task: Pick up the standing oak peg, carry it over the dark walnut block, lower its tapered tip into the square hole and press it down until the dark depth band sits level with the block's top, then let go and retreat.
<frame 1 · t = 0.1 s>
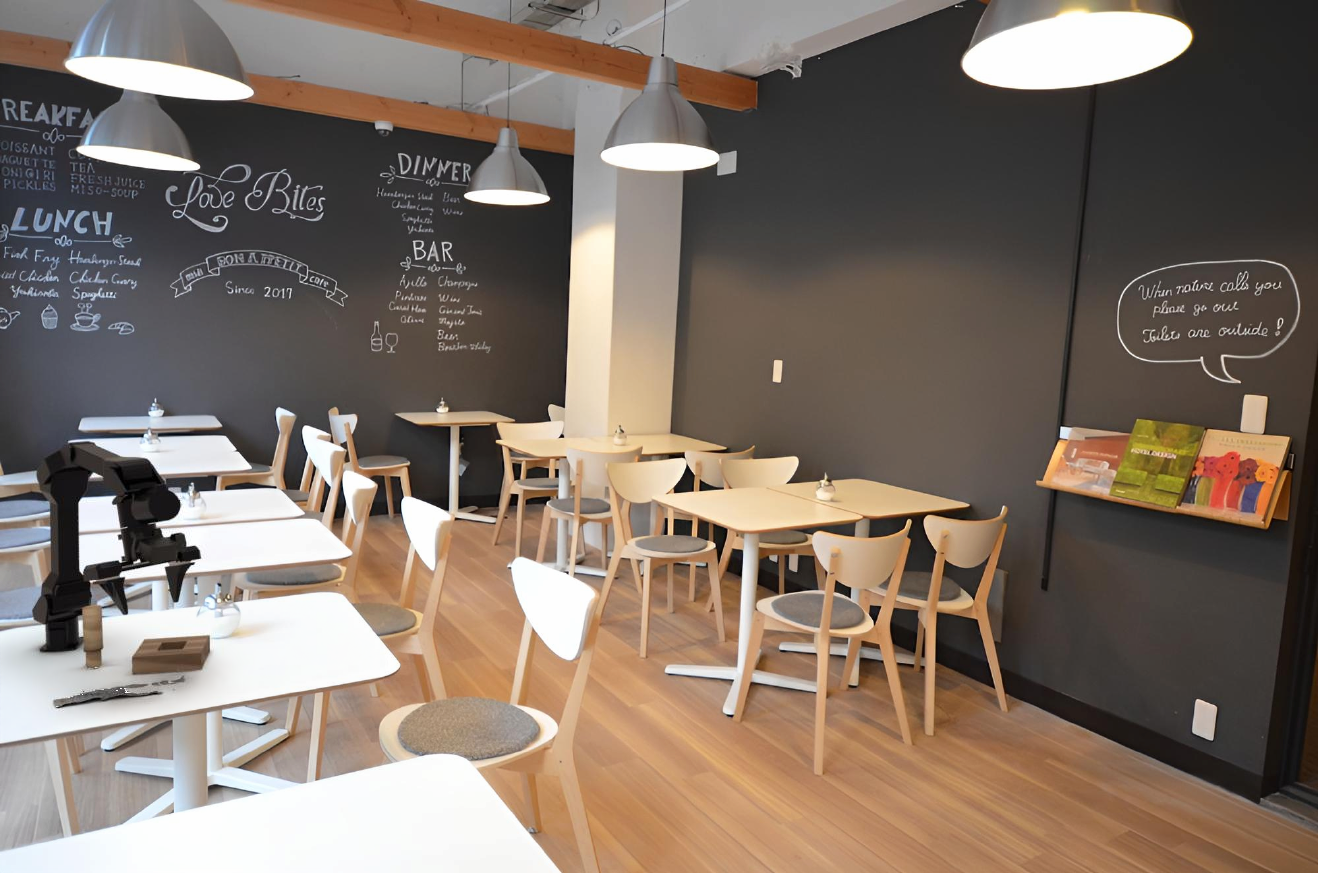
hand: (151, 608, 159), 15 cm above the table, tool pointing down, fingers open, 9 cm apart
peg: (94, 666, 170), on the table
board: (172, 662, 173), on the table
driftwood: (120, 698, 158), on the table
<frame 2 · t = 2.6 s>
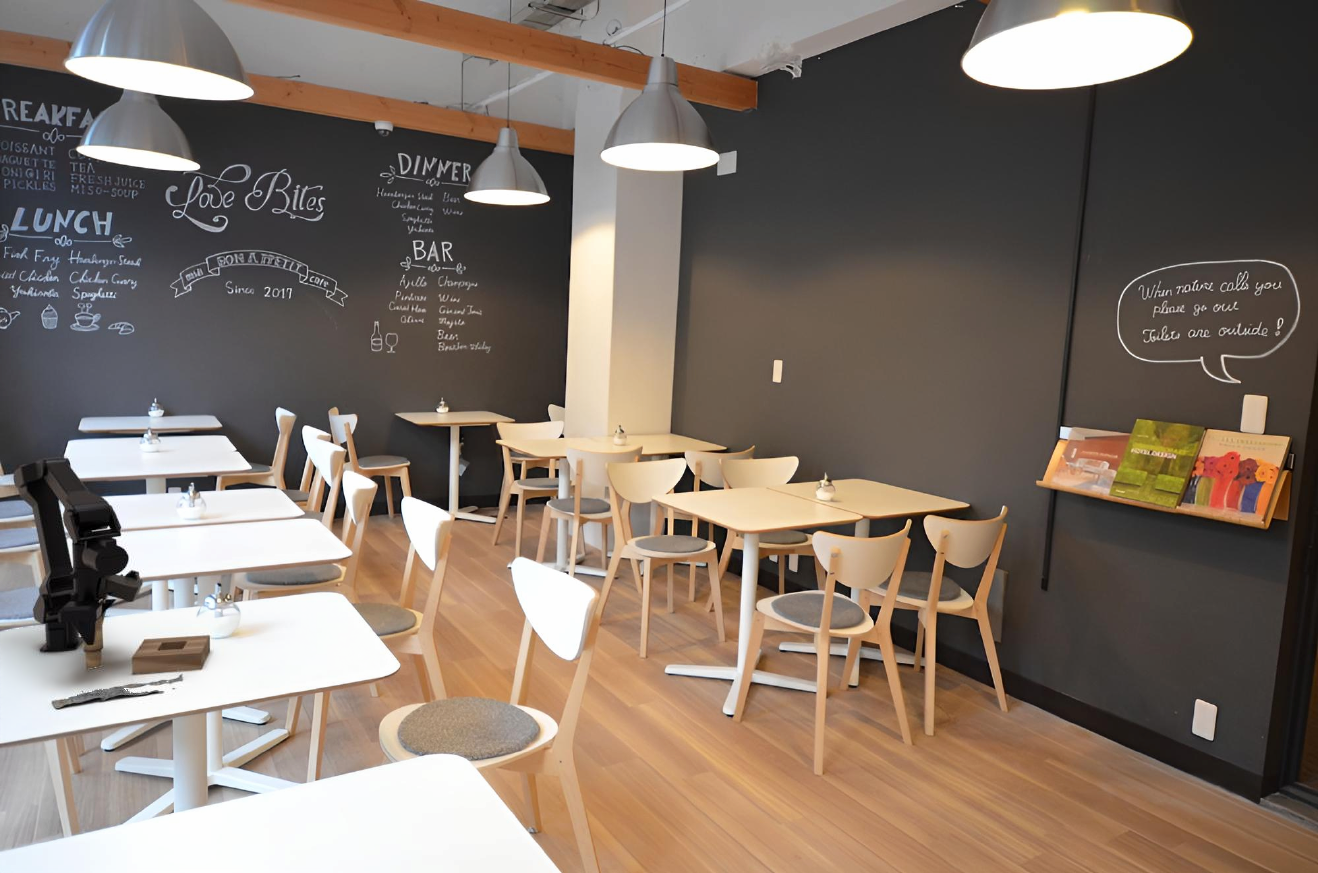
hand: (93, 641, 169), 5 cm above the table, tool pointing down, fingers closed on peg, 3 cm apart
peg: (94, 666, 170), on the table, touching gripper
everything else where it was.
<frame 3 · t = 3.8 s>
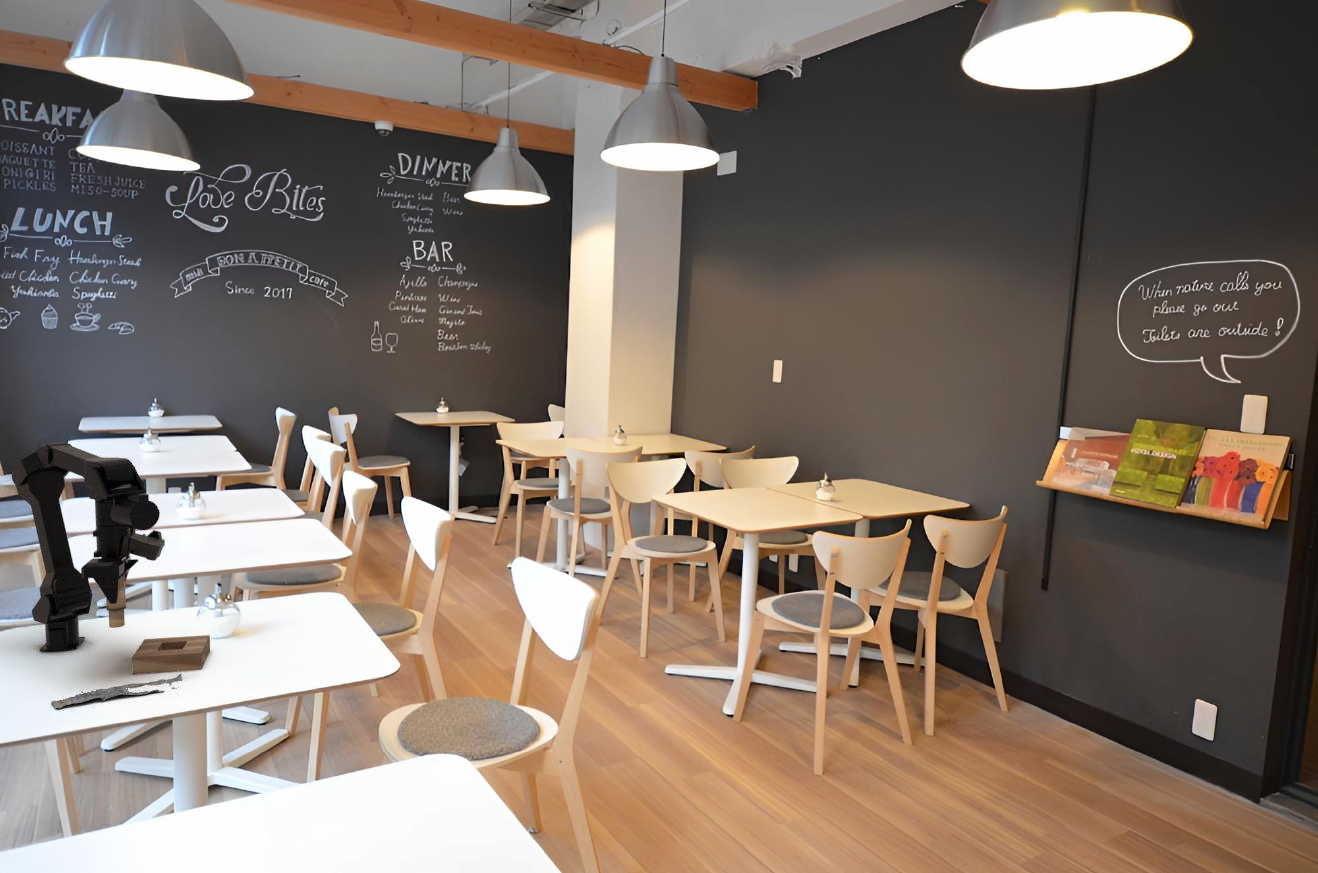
hand: (116, 601, 169), 13 cm above the table, tool pointing down, fingers closed on peg, 3 cm apart
peg: (117, 625, 169), point 8 cm above the table, touching gripper
everything else where it was.
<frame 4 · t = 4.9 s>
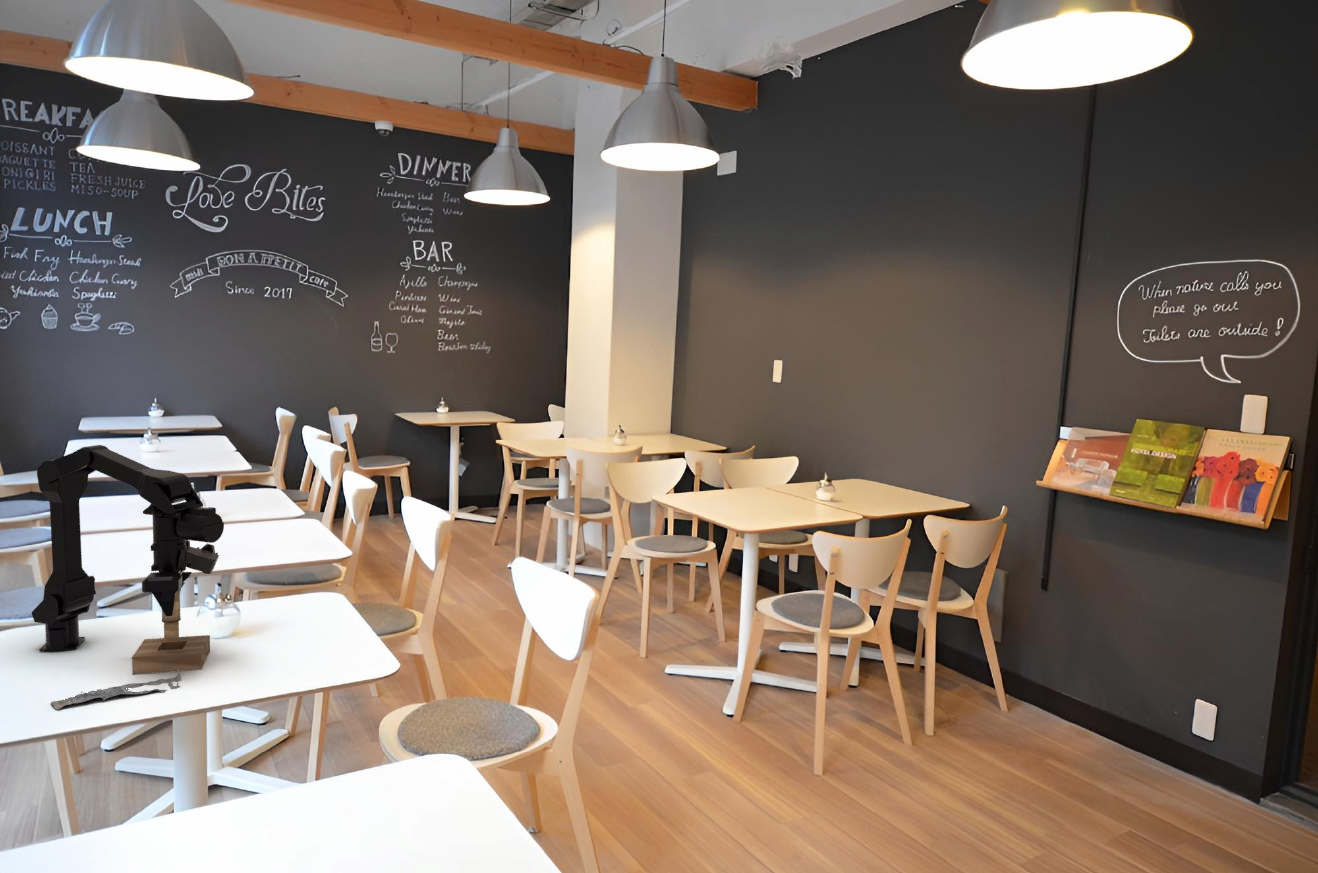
hand: (171, 613, 172), 10 cm above the table, tool pointing down, fingers closed on peg, 3 cm apart
peg: (171, 637, 173), point 5 cm above the table, touching gripper
everything else where it was.
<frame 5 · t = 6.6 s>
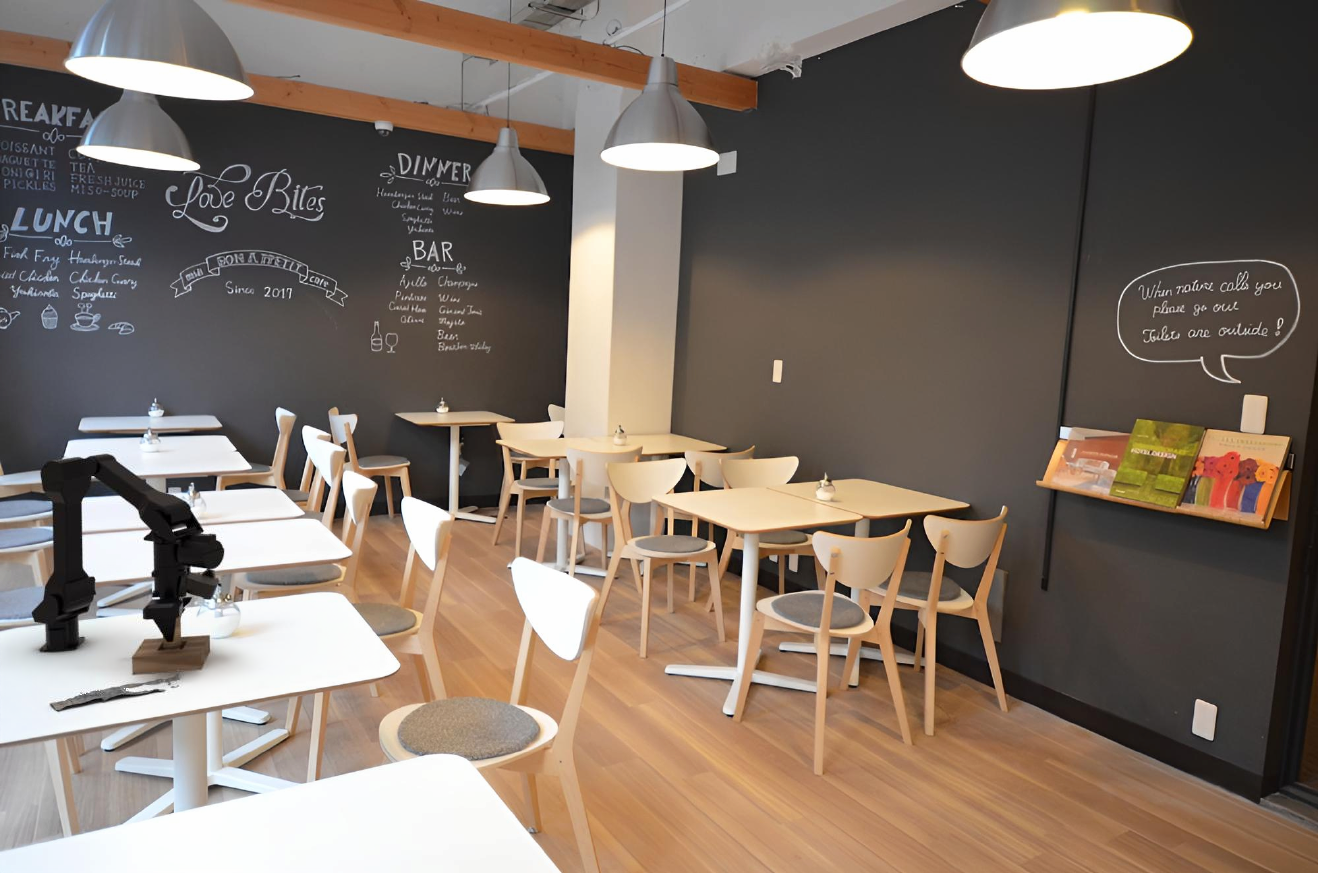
hand: (172, 638, 173), 5 cm above the table, tool pointing down, fingers closed on peg, 3 cm apart
peg: (172, 662, 173), resting in board, touching gripper
everything else where it was.
when the fingers open (5 cm above the table, at t = 7.4 s): peg stays where it is, resting in board.
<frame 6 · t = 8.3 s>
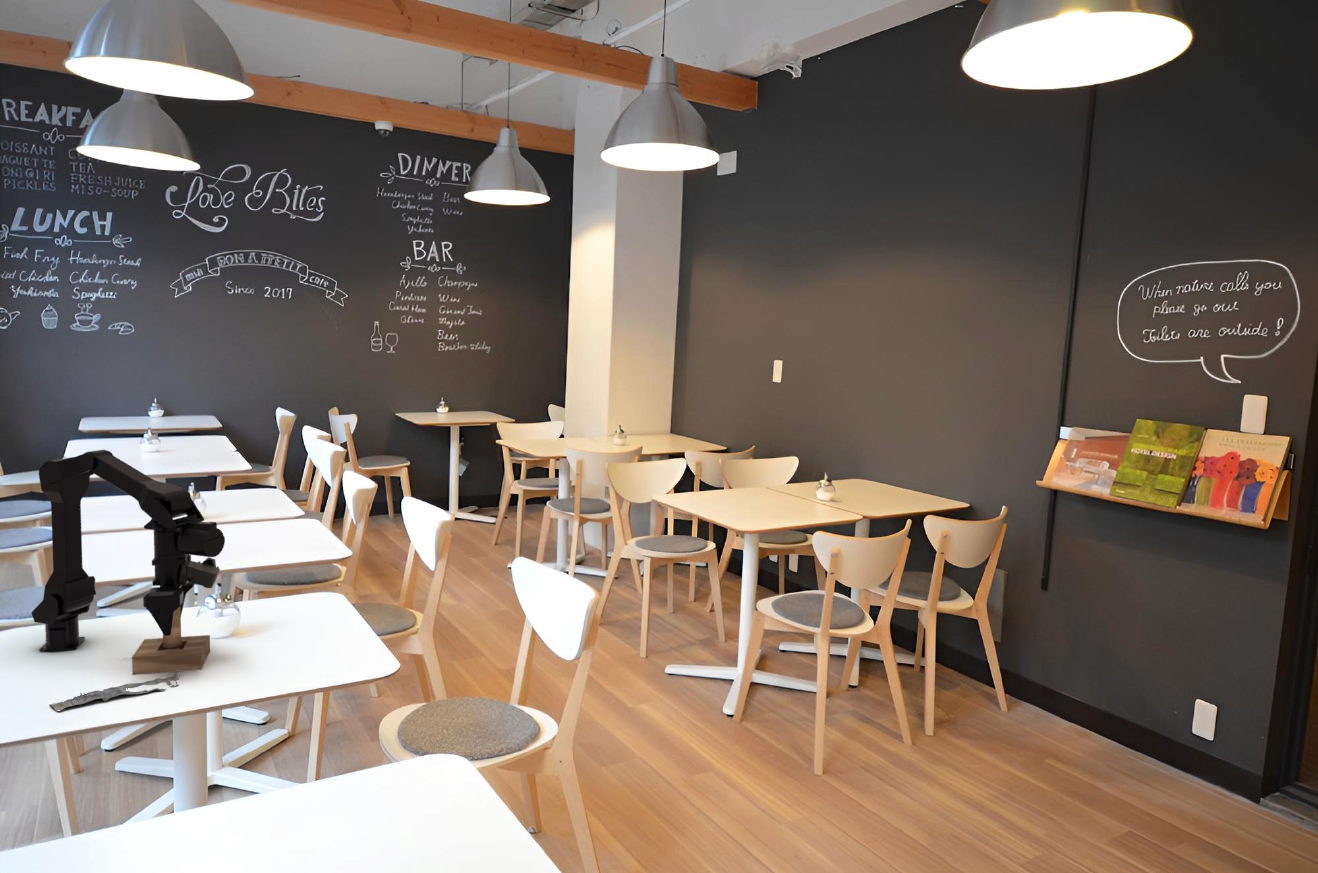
hand: (172, 627, 172), 7 cm above the table, tool pointing down, fingers open, 9 cm apart
peg: (172, 662, 173), resting in board
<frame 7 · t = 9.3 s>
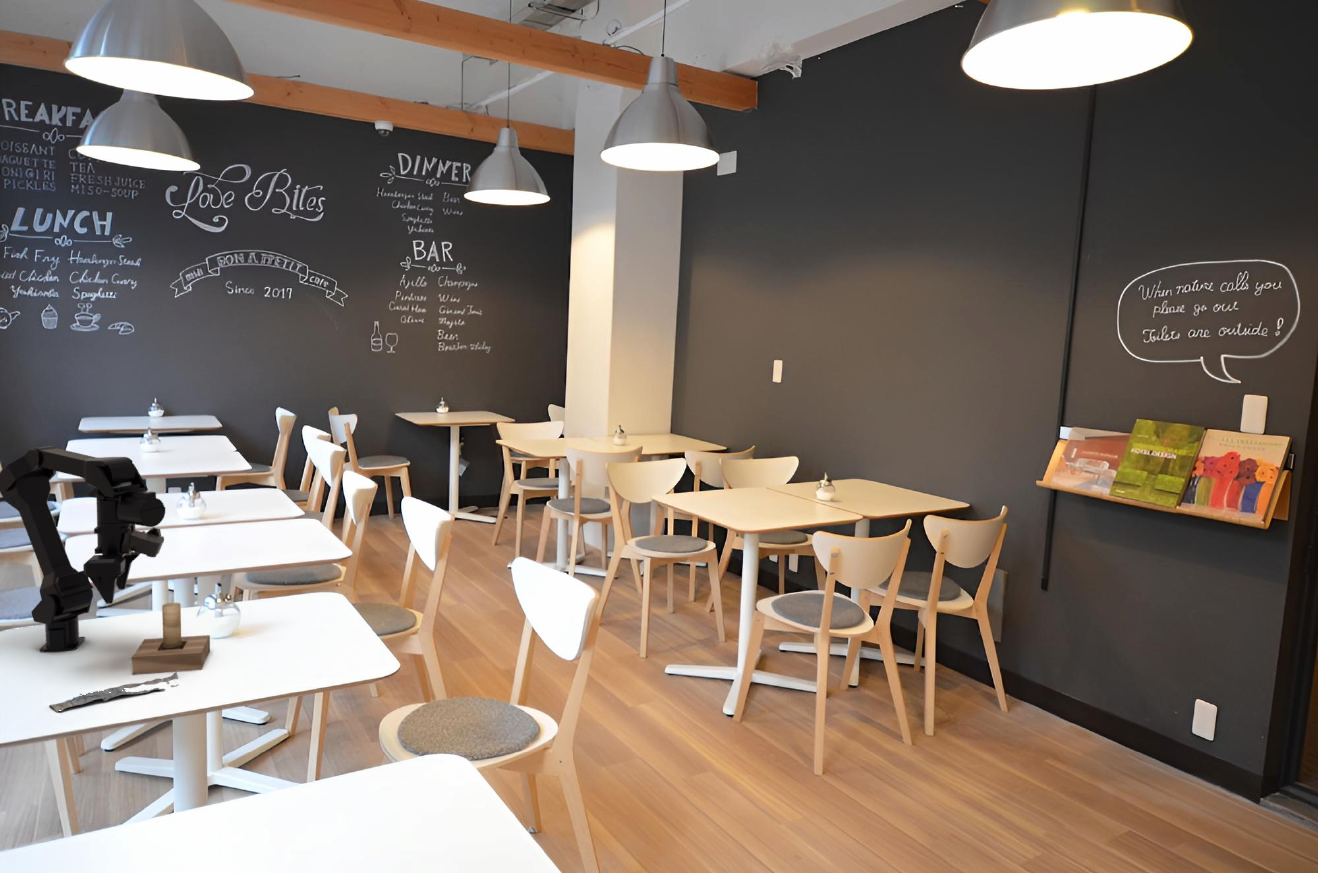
hand: (115, 596, 173), 13 cm above the table, tool pointing down, fingers open, 9 cm apart
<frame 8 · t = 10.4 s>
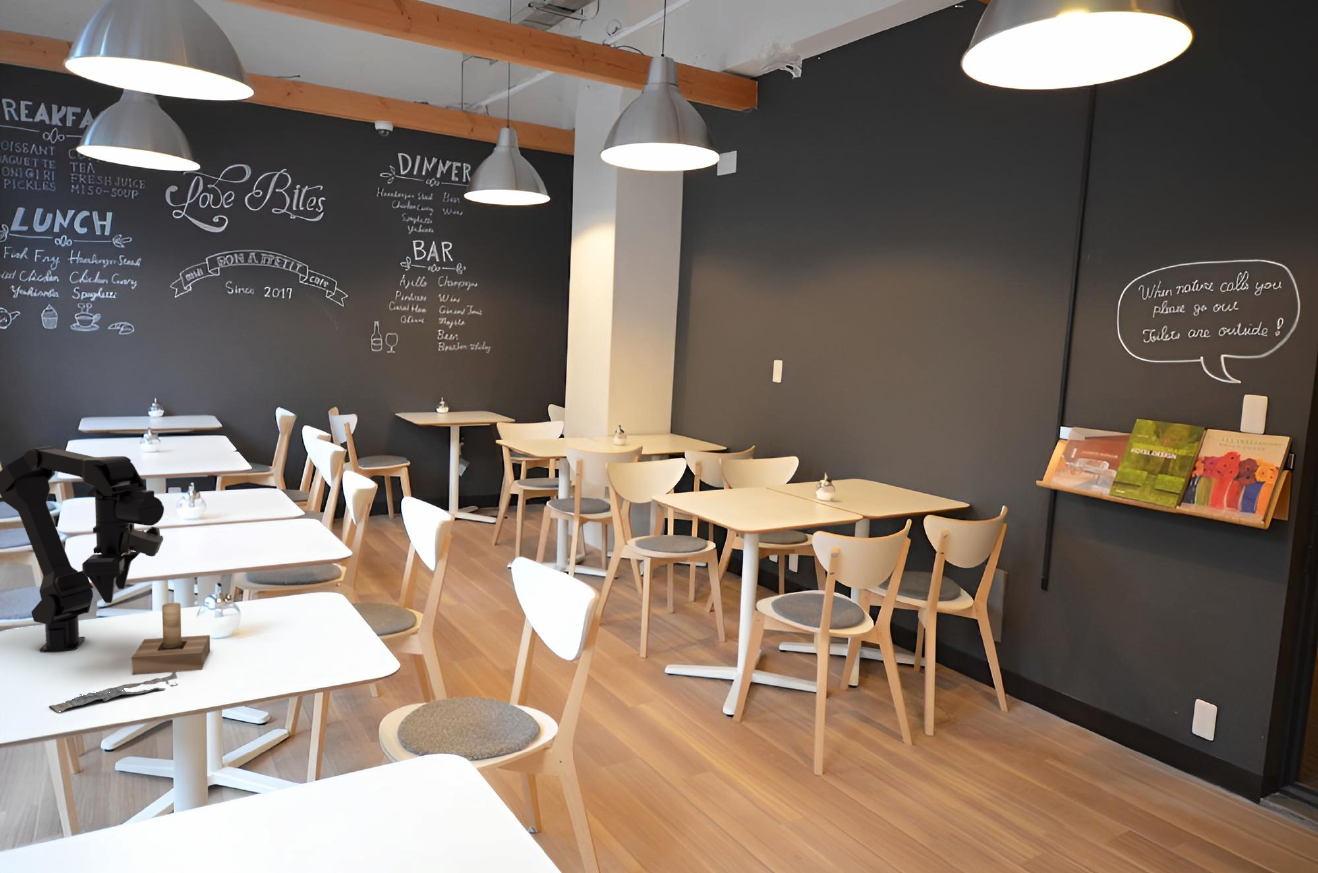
hand: (115, 595, 173), 13 cm above the table, tool pointing down, fingers open, 9 cm apart
at the end: peg 0.0 cm off-centre on the board, point 0.0 cm above the board's base; peg tilted 0°; the gripper is holding nothing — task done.
